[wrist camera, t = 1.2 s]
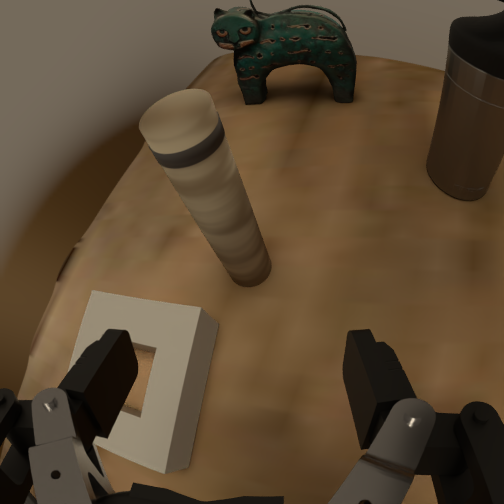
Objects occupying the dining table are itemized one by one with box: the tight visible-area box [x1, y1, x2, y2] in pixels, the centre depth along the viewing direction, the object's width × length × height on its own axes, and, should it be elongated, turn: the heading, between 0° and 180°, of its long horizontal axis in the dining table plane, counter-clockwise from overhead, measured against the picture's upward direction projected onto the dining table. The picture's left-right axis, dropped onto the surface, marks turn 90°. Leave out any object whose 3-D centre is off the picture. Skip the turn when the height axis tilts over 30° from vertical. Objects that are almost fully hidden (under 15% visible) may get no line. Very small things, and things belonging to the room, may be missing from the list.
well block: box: [68, 290, 219, 474], centre depth 27 cm, size 15×13×5 cm
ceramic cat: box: [211, 0, 357, 105], centre depth 39 cm, size 20×6×20 cm, turn 77°
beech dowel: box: [139, 89, 271, 287], centre depth 25 cm, size 5×5×20 cm
